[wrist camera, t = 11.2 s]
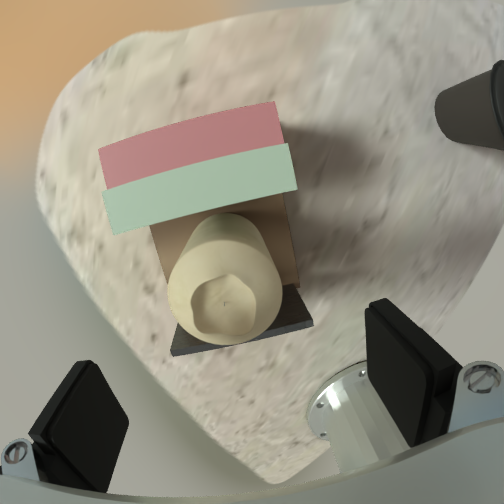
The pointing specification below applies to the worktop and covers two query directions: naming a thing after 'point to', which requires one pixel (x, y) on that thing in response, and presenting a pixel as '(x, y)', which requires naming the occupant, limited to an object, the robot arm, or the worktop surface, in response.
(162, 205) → the books
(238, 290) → the candle
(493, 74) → the coffee cup
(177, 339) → the bookend
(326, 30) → the worktop surface
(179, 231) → the brown wooden board
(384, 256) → the worktop surface
